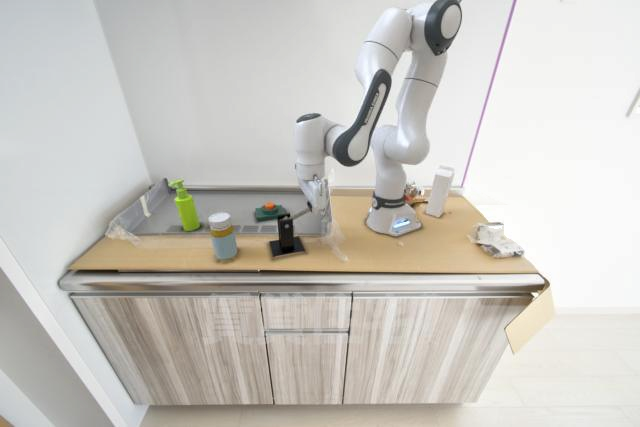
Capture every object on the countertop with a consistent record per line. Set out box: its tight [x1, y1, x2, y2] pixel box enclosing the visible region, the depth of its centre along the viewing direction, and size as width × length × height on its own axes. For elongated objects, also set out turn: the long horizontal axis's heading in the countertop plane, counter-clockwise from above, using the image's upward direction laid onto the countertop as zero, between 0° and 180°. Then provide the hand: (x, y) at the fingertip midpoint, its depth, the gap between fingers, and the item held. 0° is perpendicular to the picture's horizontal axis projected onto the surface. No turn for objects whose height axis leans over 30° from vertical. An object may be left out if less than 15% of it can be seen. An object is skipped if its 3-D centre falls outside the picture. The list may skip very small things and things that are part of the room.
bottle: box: [208, 212, 239, 261], centre depth 78 cm, size 7×7×15 cm
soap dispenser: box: [167, 179, 201, 232], centre depth 92 cm, size 6×7×20 cm
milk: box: [425, 165, 455, 218], centre depth 105 cm, size 6×6×22 cm
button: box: [264, 202, 275, 210], centre depth 104 cm, size 4×4×2 cm
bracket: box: [268, 212, 306, 257], centre depth 83 cm, size 11×9×13 cm
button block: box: [254, 203, 286, 223], centre depth 106 cm, size 12×9×4 cm
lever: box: [279, 203, 312, 221], centre depth 81 cm, size 12×5×2 cm, turn 109°
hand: (312, 209), depth 81 cm, fingers closed on lever, 5 cm apart
